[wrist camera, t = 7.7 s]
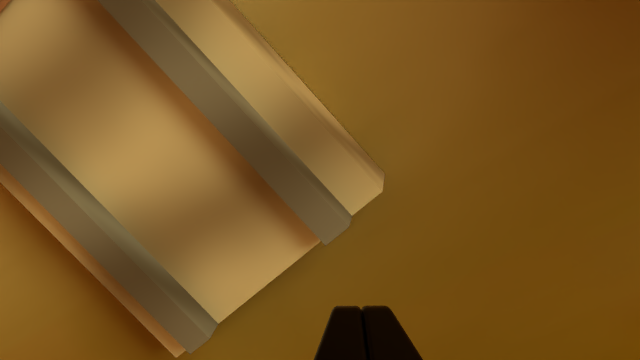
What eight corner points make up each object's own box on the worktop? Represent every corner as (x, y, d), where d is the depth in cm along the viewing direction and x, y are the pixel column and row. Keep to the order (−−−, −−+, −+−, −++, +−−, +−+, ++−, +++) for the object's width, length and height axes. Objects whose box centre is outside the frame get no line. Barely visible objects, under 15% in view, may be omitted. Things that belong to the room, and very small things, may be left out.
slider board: (384, 174, 21) (381, 201, 18) (194, 329, 24) (165, 374, 21) (9, -246, 19) (-63, -290, 16) (-150, -19, 22) (-233, -21, 19)
